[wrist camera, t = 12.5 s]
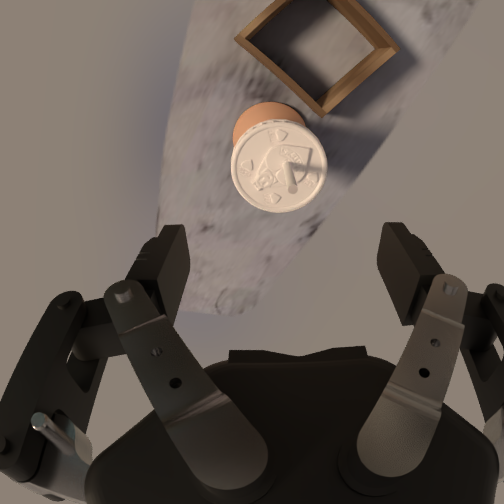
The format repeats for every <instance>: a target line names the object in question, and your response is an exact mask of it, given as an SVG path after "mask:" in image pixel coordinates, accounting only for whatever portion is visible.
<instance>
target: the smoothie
mask: <svg viewBox="0 0 504 504" xmlns="http://www.w3.org/2000/svg"><path fill="white" fill-rule="evenodd" d="M327 168H328V166H327V158H326V154H325V151H324V149H323V147H322V145H321V143H320V141H319V139H318V138H317V137H316V136H315V135H314V134H313V133H312V132H311V131H310V130H309V129H308V128H306V127H305V126H303V125H301V124H299V123H297V122H294V121H290V120H286V119H268V120H266V121H264V122H260V123H258V124H256V125H255V126H253V127H251V128H249V129H248V130H247V131H246V132H245V133H244V134H243V135H242V136H241V137H240V138H239V140H238V142H237V144H236V145H235V147H234V150H233V154H232V158H231V174H232V178H233V182H234V184H235V186H236V188H237V190H238V192H239V193H240V194H241V196H242V197H243V198H244V199H245V200H246V201H248V202H249V203H250V204H252V205H253V206H255V207H257V208H259V209H262V210H265V211H269V212H289V211H293V210H296V209H299V208H301V207H303V206H305V205H306V204H308V203H309V202H311V201H312V200H313V199H314V198H315V197H316V196H317V195H318V193H319V192H320V191H321V189H322V187H323V185H324V183H325V180H326V176H327Z"/></svg>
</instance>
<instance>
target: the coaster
mask: <svg viewBox="0 0 504 504" xmlns="http://www.w3.org/2000/svg"><path fill="white" fill-rule="evenodd" d="M268 119H286V120H290V121H294V122H297V123H299V124H301V125H303V126H305V127H306V125H305V123H304V121H303V119H302V118H301V116H300V115H299V114H298V113H297V112H296V111H295V110H293V109H292V108H291V107H289V106H287V105H285V104H282V103H278V102H263V103H259V104H256V105H254V106H252V107H250V108H249V109H247V110H246V111H245V112H244V113H243V114H242V115H241V116H240V117H239V119H238V121H237V123H236V125H235V128H234V132H233V144H234V147H235V145H236V144H237V142H238V140H239V138H240V137H241V136H242V135H243V134H244V133H245V132H246V131H247V130H248V129H249V128H251V127H253V126H255V125H256V124H258V123H260V122H264V121H266V120H268Z"/></svg>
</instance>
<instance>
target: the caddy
mask: <svg viewBox="0 0 504 504" xmlns="http://www.w3.org/2000/svg"><path fill="white" fill-rule="evenodd" d="M292 1H294V0H275V1H274V2H273V3H272V4H270V5H269V6H268V7H267V8H266V9H265V10H264V11H263V12H261V13H260V14H259V15H258V16H257V17H256V18H255V19H254V20H253V21H252V22H251V23H249V24H248V25H247V26H246V27H245V28H244V29H243V30H242V31H241V32H240V33H239V34H238V35H237V36H236V37H235V38H234V40H235V41H236V42H237V43H238V44H239V45H240V46H242V47H243V48H244V49H245V50H246V51H248V52H249V53H250V54H251V55H252V56H254V57H255V58H256V59H257V60H258V61H260V62H261V63H262V64H263V65H264V66H265V67H267V68H268V69H269V70H270V71H271V72H272V73H273V74H275V75H276V76H277V77H278V78H279V79H280V80H281V81H282V82H283V83H284V84H286V85H287V86H288V87H289V88H290V89H291V90H292V91H293V92H294V93H295V94H296V95H297V96H298V97H299V98H300V99H301V100H303V101H304V102H305V103H306V104H307V105H308V106H309V107H310V108H311V109H312V110H313V111H314V112H315V113H316V114H317V115H318V116H320V117H321V118H323V117H324V116H325V115H326V114H327V113H328V112H329V111H330V110H331V109H333V108H334V107H335V106H336V105H337V104H338V103H339V102H340V101H341V100H342V99H344V98H345V97H346V96H347V95H348V94H349V93H350V92H351V91H353V90H354V89H355V88H356V87H357V86H358V85H359V84H360V83H362V82H363V81H364V80H365V79H366V78H367V77H368V76H370V75H371V74H372V73H373V72H374V71H375V70H376V69H378V68H379V67H380V66H381V65H382V64H383V63H385V62H386V61H387V60H388V59H389V58H390V57H392V56H393V55H394V54H395V53H396V52H398V51H399V50H400V48H399V46H398V45H397V44H396V43H395V42H394V41H393V39H392V38H391V37H390V36H389V35H388V34H387V33H386V31H385V30H384V29H383V28H382V27H381V26H380V25H379V24H378V23H377V22H376V21H375V19H374V18H373V17H372V16H371V15H370V14H369V13H368V12H367V11H366V10H365V9H364V8H363V7H362V6H361V5H360V4H359V3H358V2H357V1H356V0H327V1H328V2H329V3H330V4H331V5H333V6H334V7H335V8H336V9H337V10H338V11H339V12H340V13H341V14H342V15H343V16H344V17H345V18H346V19H347V20H348V21H349V22H350V23H351V24H352V25H353V26H354V27H355V28H356V29H357V30H358V31H359V32H360V33H361V34H362V35H363V36H364V37H365V38H366V39H367V40H368V41H369V42H370V44H371V45H372V46H373V47H374V48H375V50H374V51H372V52H371V53H370V54H369V55H368V56H367V57H365V58H364V59H363V60H362V61H361V62H360V63H358V64H357V65H356V66H355V67H354V68H353V69H352V70H350V71H349V72H348V73H347V74H346V75H345V76H344V77H342V78H341V79H340V80H339V81H338V82H337V83H336V84H335V85H333V86H332V87H331V88H330V89H329V90H328V91H327V92H326V93H325V94H324V95H322V96H321V97H320V98H319V99H318V100H317V101H316V102H315V101H314V100H313V99H312V98H311V97H310V96H309V95H308V94H307V93H306V92H305V91H304V90H303V89H302V88H301V87H300V86H299V85H298V84H297V83H296V82H294V81H293V80H292V79H291V78H290V77H289V76H288V75H287V74H286V73H285V72H284V71H283V70H281V69H280V68H279V67H278V66H277V65H276V64H275V63H274V62H272V61H271V60H270V59H269V58H268V57H267V56H265V55H264V54H263V53H262V52H261V51H260V50H258V49H257V48H256V47H255V46H254V45H252V44H251V43H250V42H249V40H250V39H251V38H252V37H253V36H254V35H255V34H256V33H257V32H258V31H260V30H261V29H262V28H263V27H264V26H265V25H266V24H267V23H268V22H269V21H270V20H272V19H273V18H274V17H275V16H276V15H277V14H278V13H279V12H281V11H282V10H283V9H284V8H285V7H286V6H288V5H289V4H290V3H291V2H292Z"/></svg>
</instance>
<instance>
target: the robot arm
mask: <svg viewBox="0 0 504 504" xmlns="http://www.w3.org/2000/svg"><path fill="white" fill-rule="evenodd" d="M377 266H378V270H379V272H380V274H381V277H382V279H383V281H384V283H385V286H386V288H387V290H388V292H389V295H390V297H391V299H392V302H393V304H394V307H395V309H396V311H397V314H398V316H399V318H400V321H401V324H402V326H407V325H414V329H413V332H412V334H411V336H410V339H409V341H408V343H407V345H406V347H405V350H404V351H403V354H402V356H401V358H400V360H399V362H398V364H397V366H395V365H394V364H392V363H390V362H388V361H386V360H383V359H380V358H377V357H373V356H368V355H367V351H366V348H365V346H355V347H340V348H331V349H327V350H324V351H320V352H316V353H312V354H309V355H305V356H292V355H286V354H281V353H275V352H270V351H265V350H229V358H228V360H226V361H221V362H218V363H215V364H212V365H210V366H208V367H206V368H204V369H203V368H202V367H201V365H200V364H199V363H198V361H197V360H196V359H195V357H194V356H193V354H192V353H191V351H190V350H189V349H188V347H187V346H186V344H185V343H184V342H183V340H182V339H181V337H180V336H179V334H178V333H177V332H176V330H175V329H174V327H173V325H174V321H175V318H176V315H177V311H178V308H179V305H180V301H181V298H182V295H183V291H184V288H185V285H186V282H187V278H188V275H189V272H190V255H189V250H188V244H187V238H186V232H185V228H184V225H182V224H180V225H164V227H163V229H162V230H161V232H160V234H159V236H158V237H153V238H152V239H150V240H149V241H148V242H146V243H145V244H144V246H143V247H142V249H141V251H140V254H138V256H137V258H136V260H135V262H134V264H133V265H132V267H131V269H130V271H129V272H128V274H127V276H126V278H125V280H121V281H118V282H116V283H114V284H112V285H111V286H110V287H109V288H108V289H107V290H106V291H105V293H104V296H103V298H99V299H94V300H89V301H85V302H84V300H83V298H82V296H81V294H80V293H79V292H76V291H67V292H64V293H62V294H59V295H58V296H56V297H55V298H54V299H53V300H52V301H51V302H50V304H49V306H48V307H47V309H46V311H45V313H44V314H43V316H42V318H41V320H40V322H39V323H38V325H37V327H36V329H35V330H34V332H33V334H32V336H31V338H30V340H29V342H28V344H27V346H26V347H25V349H24V351H23V354H22V355H21V357H20V359H19V362H18V363H17V366H16V368H15V370H14V372H13V374H12V376H11V378H10V381H9V383H8V385H7V387H6V390H5V392H4V394H3V396H2V399H1V401H0V471H1V472H2V473H4V474H5V475H7V476H8V477H10V479H12V480H13V481H15V482H16V483H18V484H20V485H22V486H23V487H25V488H27V489H29V490H31V491H33V492H35V493H37V494H40V495H42V496H44V497H46V498H48V499H50V500H53V501H63V500H65V499H67V500H70V501H73V502H76V503H79V504H494V498H495V492H496V487H497V484H498V483H500V482H502V481H503V482H504V356H503V359H502V361H501V360H500V358H499V355H498V353H497V351H496V349H495V347H494V345H493V343H494V341H495V339H496V338H497V336H498V338H499V340H500V342H501V344H502V346H503V349H504V286H502V285H500V284H494V283H493V284H489V285H488V286H487V288H486V290H485V292H484V294H480V293H475V292H469V291H468V289H467V286H466V285H465V283H464V282H463V281H462V280H460V279H459V278H457V277H456V276H453V275H450V274H445V273H444V271H443V270H442V268H441V266H440V265H439V263H438V262H437V261H436V259H435V258H434V256H432V253H431V252H430V250H428V248H427V246H426V245H425V243H424V242H423V241H422V240H421V239H419V238H418V237H417V236H415V235H414V234H411V233H410V232H409V231H408V229H407V228H406V226H405V225H404V224H403V223H402V222H400V223H399V222H385V223H384V225H383V228H382V233H381V239H380V244H379V249H378V254H377ZM459 348H460V351H461V353H462V356H463V358H464V361H465V364H466V366H467V369H468V372H469V374H470V377H471V380H472V383H473V386H474V389H475V391H476V394H477V398H478V400H479V404H480V407H481V410H482V413H483V416H484V420H485V426H484V429H483V433H482V432H480V431H479V430H478V429H476V428H475V427H474V426H473V425H471V424H470V423H469V422H468V421H466V420H465V419H464V418H462V417H461V416H460V415H459V414H457V413H456V412H455V411H453V410H452V409H451V408H450V407H448V406H447V405H446V404H445V403H443V400H444V397H445V394H446V392H447V388H448V386H449V382H450V379H451V376H452V373H453V370H454V366H455V363H456V359H457V356H458V352H459ZM70 351H72V352H71V355H70V357H69V360H68V362H67V358H68V355H69V353H70ZM123 354H127V357H128V359H129V361H130V363H131V365H132V367H133V369H134V371H135V373H136V375H137V377H138V379H139V381H140V383H141V385H142V387H143V389H144V391H145V393H146V395H147V397H148V398H149V400H150V402H151V404H152V406H153V408H154V410H153V411H152V412H150V413H149V414H148V415H147V416H146V417H144V418H143V419H142V420H141V421H140V422H138V423H137V424H136V425H135V426H134V427H132V428H131V429H130V430H129V431H128V432H126V433H125V434H124V435H123V436H121V437H120V438H119V439H118V440H116V441H115V442H114V443H113V444H112V445H110V446H109V447H108V448H107V449H105V450H104V451H103V452H102V453H100V454H99V455H98V456H97V457H96V458H95V459H94V461H92V444H91V442H90V440H89V438H88V437H87V436H86V435H85V434H86V430H87V426H88V423H89V419H90V415H91V412H92V408H93V405H94V401H95V398H96V395H97V391H98V388H99V385H100V382H101V378H102V375H103V372H104V369H105V366H106V363H107V360H108V357H112V356H118V355H123Z"/></svg>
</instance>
